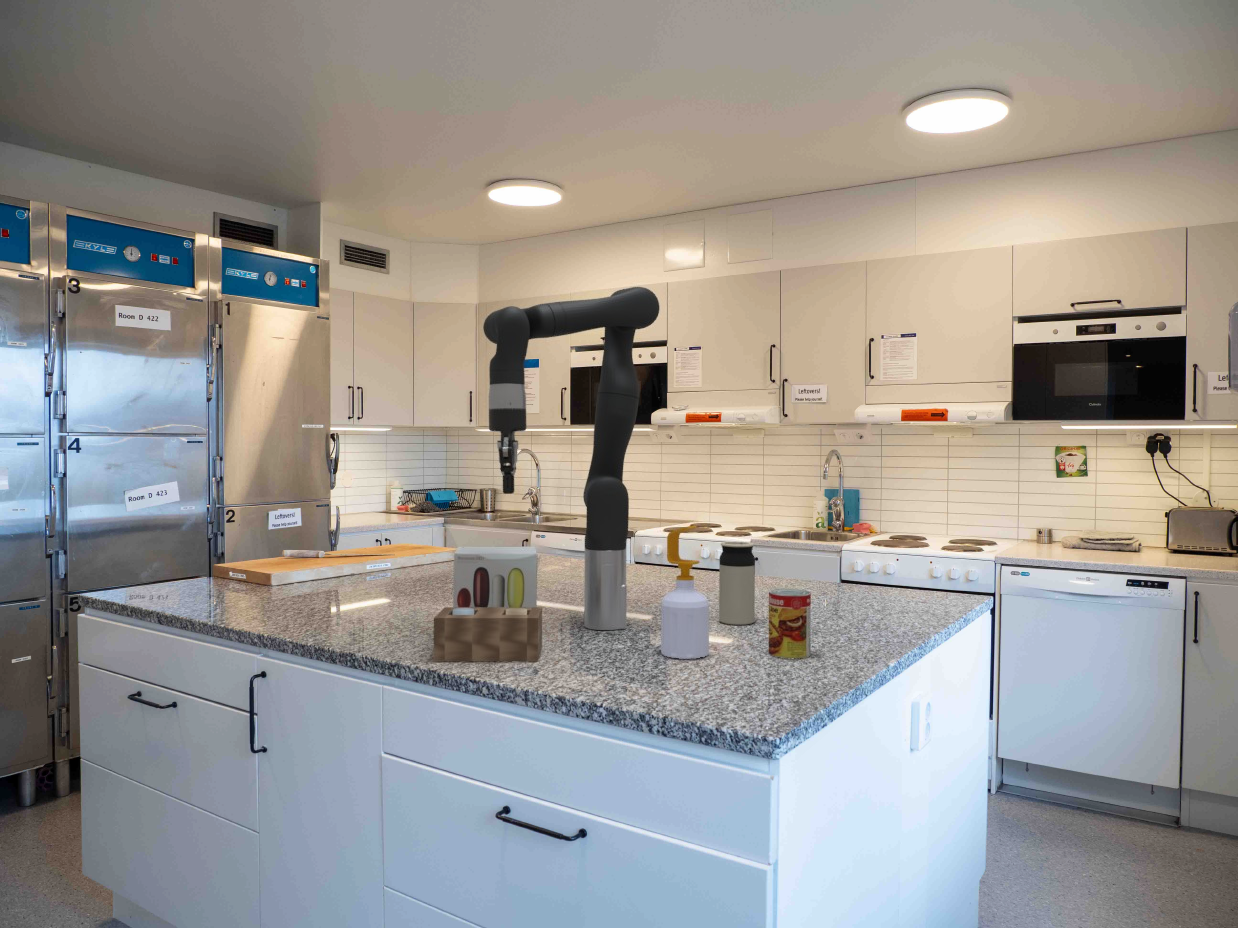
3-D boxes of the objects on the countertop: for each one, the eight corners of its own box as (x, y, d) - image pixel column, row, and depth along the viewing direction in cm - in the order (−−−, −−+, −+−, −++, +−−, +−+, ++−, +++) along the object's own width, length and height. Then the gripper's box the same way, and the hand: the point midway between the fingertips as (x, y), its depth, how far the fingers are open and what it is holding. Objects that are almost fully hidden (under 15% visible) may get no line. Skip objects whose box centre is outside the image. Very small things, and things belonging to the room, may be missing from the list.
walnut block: (542, 647, 164) (542, 607, 164) (537, 661, 153) (538, 617, 153) (444, 647, 164) (444, 607, 164) (433, 661, 153) (433, 617, 153)
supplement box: (451, 642, 169) (451, 552, 169) (456, 628, 183) (456, 545, 182) (537, 640, 171) (537, 552, 171) (536, 627, 185) (536, 545, 184)
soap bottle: (695, 662, 153) (696, 528, 153) (652, 655, 158) (652, 525, 158) (716, 652, 161) (717, 524, 161) (674, 646, 166) (675, 522, 166)
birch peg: (527, 646, 161) (527, 607, 161) (525, 651, 157) (526, 611, 157) (506, 646, 161) (507, 607, 161) (504, 651, 157) (504, 611, 157)
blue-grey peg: (475, 646, 161) (475, 607, 161) (472, 651, 157) (472, 611, 157) (454, 646, 161) (454, 607, 160) (450, 651, 157) (450, 611, 156)
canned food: (765, 649, 164) (766, 588, 164) (806, 649, 164) (806, 588, 164) (771, 659, 156) (772, 594, 156) (814, 659, 156) (814, 595, 156)
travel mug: (738, 627, 185) (739, 545, 185) (711, 621, 191) (712, 542, 191) (761, 622, 190) (762, 543, 190) (734, 617, 196) (735, 540, 196)
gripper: (523, 405, 163) (525, 494, 163) (528, 409, 176) (529, 491, 176) (484, 406, 162) (486, 495, 163) (492, 409, 176) (493, 492, 176)
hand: (508, 493), depth 169 cm, fingers closed
